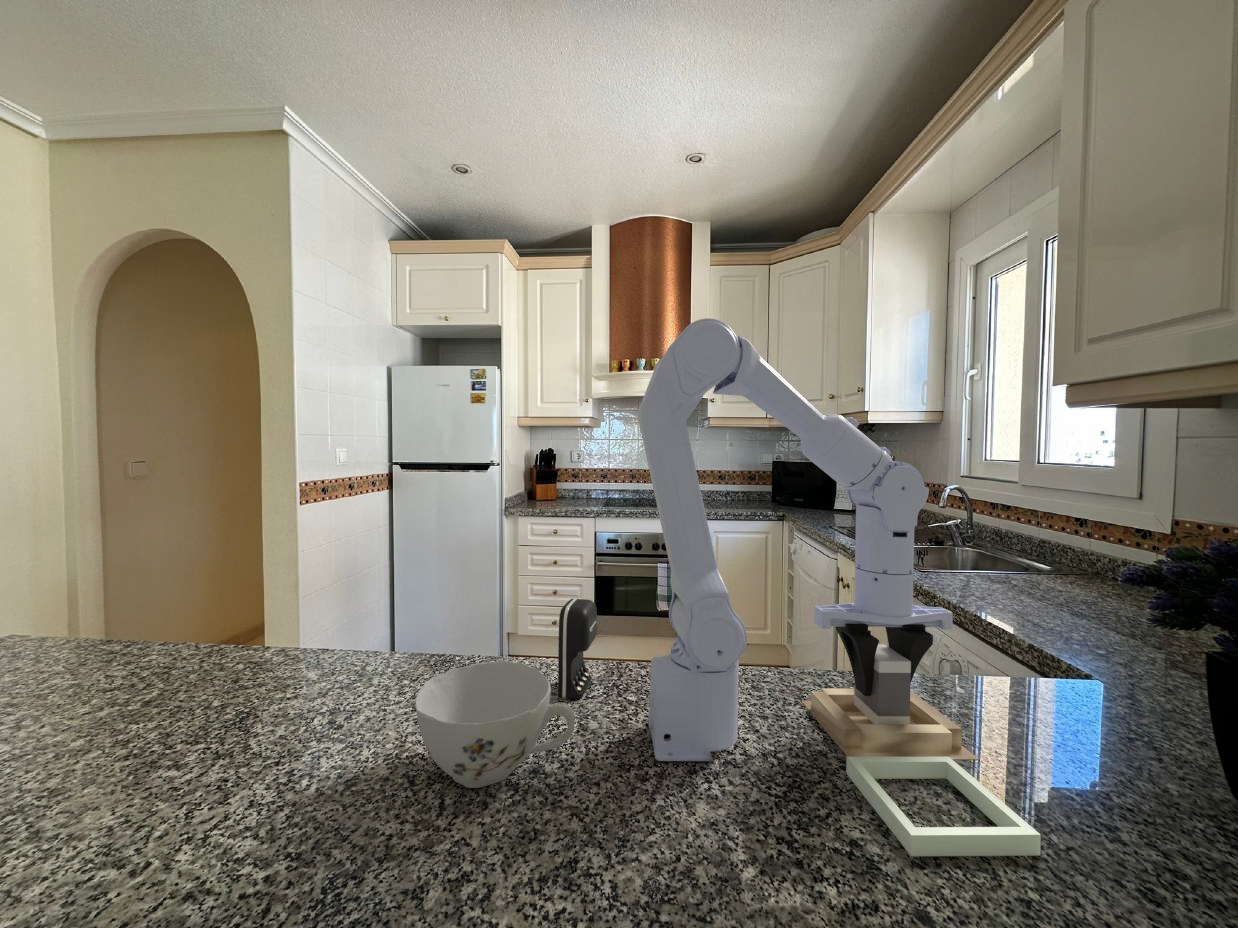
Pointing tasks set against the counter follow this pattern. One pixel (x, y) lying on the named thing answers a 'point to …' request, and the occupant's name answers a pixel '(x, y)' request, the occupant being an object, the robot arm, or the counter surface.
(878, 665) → the grey rectangular block
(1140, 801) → the counter surface
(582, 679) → the black battery charger
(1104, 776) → the counter surface
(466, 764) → the teacup
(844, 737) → the tray
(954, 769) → the tray
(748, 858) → the counter surface
